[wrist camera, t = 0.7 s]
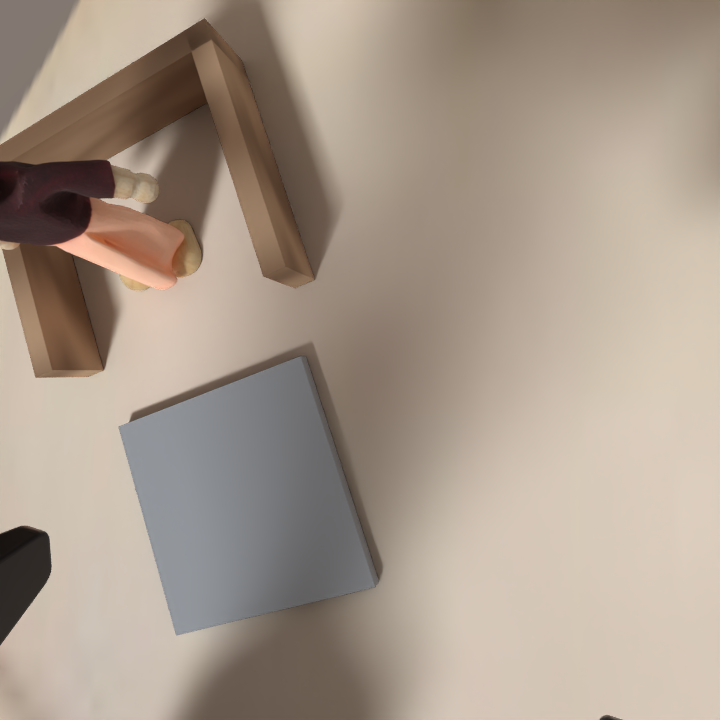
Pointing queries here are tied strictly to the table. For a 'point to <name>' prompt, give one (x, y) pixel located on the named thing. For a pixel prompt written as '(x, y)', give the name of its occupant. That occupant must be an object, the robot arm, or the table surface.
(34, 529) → the robot arm
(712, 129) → the table surface
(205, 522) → the slate mat
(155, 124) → the walnut stall
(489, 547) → the table surface
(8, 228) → the grandmother figurine
